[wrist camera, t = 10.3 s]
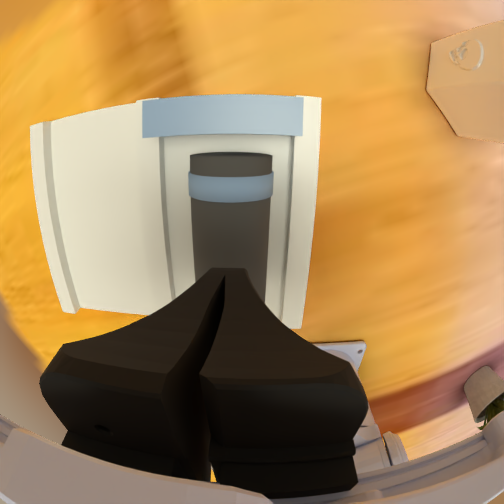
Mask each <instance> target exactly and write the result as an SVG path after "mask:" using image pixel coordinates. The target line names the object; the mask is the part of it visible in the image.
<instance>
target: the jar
mask: <svg viewBox="0 0 504 504" xmlns="http://www.w3.org/2000/svg"><path fill="white" fill-rule="evenodd" d="M426 90H427V92H428V93H429V95H430V96H431V97H432V99H433V100H434V102H435V103H436V104H437V106H438V107H439V109H440V110H441V111H442V113H443V114H444V116H445V117H446V119H447V120H448V122H449V123H450V125H451V127H452V128H453V130H454V131H455V133H456V135H457V136H459V137H465V138H472V139H479V140H485V141H491V142H497V143H502V144H504V20H501V21H497V22H493V23H489V24H486V25H482V26H479V27H476V28H472V29H469V30H466V31H463V32H460V33H457V34H454V35H451V36H448V37H445V38H443V39H440V40H437V41H435V42H432V43H431V53H430V63H429V72H428V80H427V87H426Z"/></svg>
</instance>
